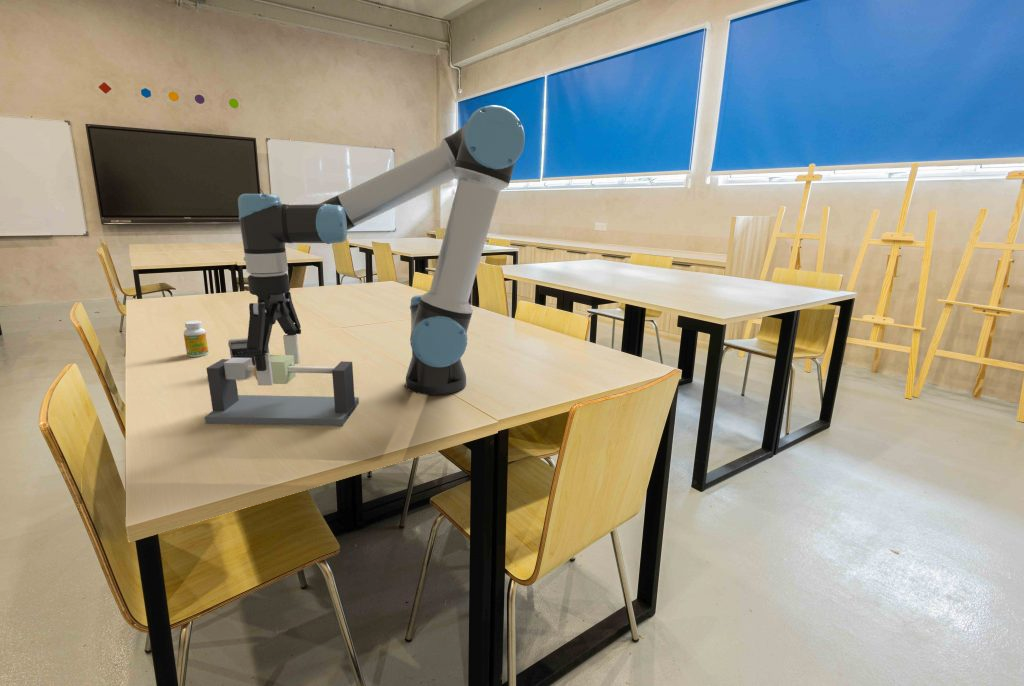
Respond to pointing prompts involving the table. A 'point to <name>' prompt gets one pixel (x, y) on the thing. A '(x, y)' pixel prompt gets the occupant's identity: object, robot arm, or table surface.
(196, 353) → the supplement bottle
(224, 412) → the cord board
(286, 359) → the pale green sliding cube
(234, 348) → the electrical switch
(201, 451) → the table surface
